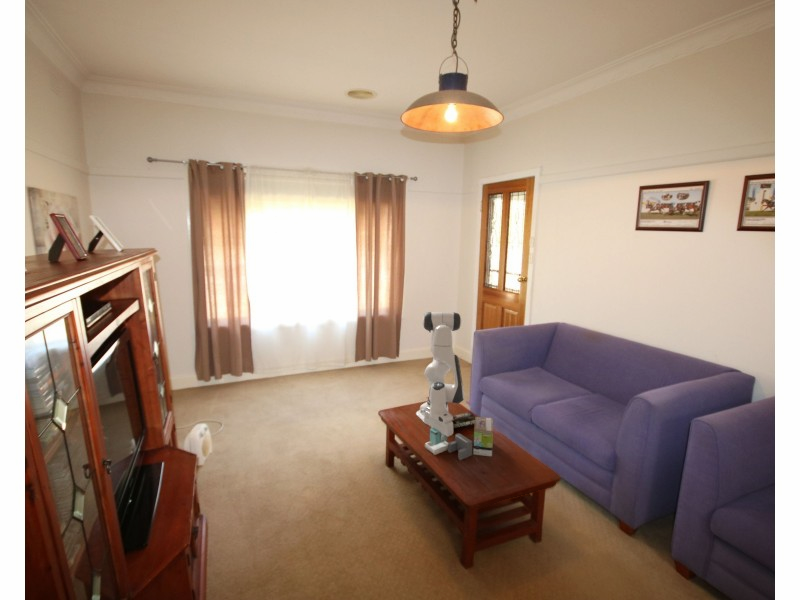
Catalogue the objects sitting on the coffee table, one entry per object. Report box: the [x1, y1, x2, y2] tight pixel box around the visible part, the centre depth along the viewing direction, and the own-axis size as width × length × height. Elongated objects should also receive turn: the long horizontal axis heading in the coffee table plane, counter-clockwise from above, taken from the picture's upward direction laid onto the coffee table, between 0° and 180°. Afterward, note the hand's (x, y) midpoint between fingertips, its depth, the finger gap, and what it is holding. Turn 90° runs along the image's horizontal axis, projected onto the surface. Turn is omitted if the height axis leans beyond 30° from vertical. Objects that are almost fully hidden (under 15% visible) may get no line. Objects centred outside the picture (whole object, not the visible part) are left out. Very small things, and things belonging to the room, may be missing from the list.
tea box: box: [472, 416, 495, 457], centre depth 214 cm, size 15×10×15 cm, turn 168°
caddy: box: [429, 428, 448, 445], centre depth 214 cm, size 5×8×7 cm, turn 125°
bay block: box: [447, 433, 473, 461], centre depth 210 cm, size 10×8×8 cm
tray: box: [424, 440, 449, 455], centre depth 215 cm, size 9×11×2 cm
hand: (438, 436), depth 214 cm, fingers closed on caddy, 5 cm apart
